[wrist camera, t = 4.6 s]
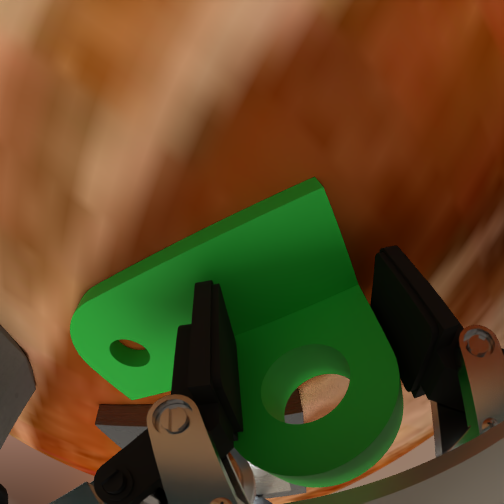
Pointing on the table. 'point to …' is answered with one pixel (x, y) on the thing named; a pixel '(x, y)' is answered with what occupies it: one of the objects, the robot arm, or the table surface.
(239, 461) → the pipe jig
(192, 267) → the mechanical part
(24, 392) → the coffeepot
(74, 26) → the table surface
